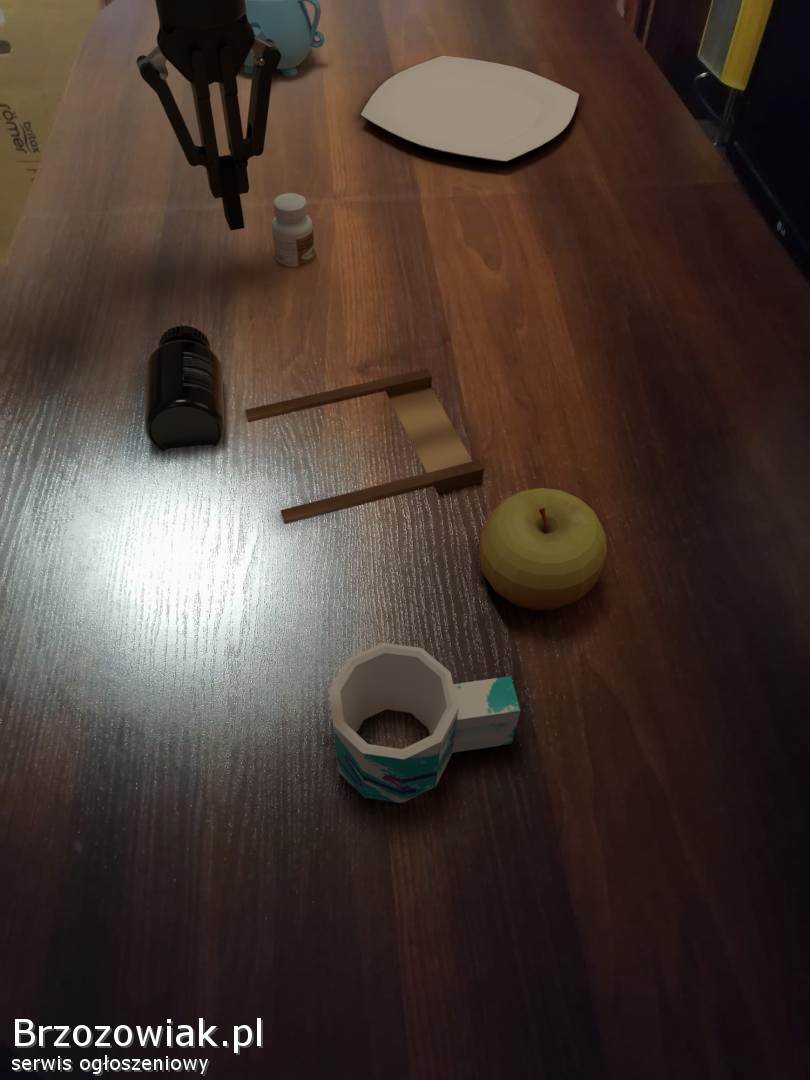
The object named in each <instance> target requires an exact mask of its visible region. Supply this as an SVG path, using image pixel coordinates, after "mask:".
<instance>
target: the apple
mask: <svg viewBox="0 0 810 1080" xmlns="http://www.w3.org/2000/svg"><path fill="white" fill-rule="evenodd" d="M607 550H608V549H607V533H606V532H605V530H604V527H603V525H602V523H601V522H600V520H599V518H598V516H597V514H596V512H595V511H594V510H593V509H592V508H591V506H588V505H587V504H586V503H585V502H584V501H583V500H582V499H581V498H579V497H578V496H575V495H573V494H571V493H568V492H567V491H566V492H565V491H563V490H561V489H555V488H554V489H553V488H547V487H540V488H539V487H538V488H532V489H526V490H522V491H519V492H517V493H515V494H513V495H511V496H509V497H507V498H504V499H503V501H502V502H500V503H499V504H498V505H497V506H496V507H495V509H493V510H492V512H491V513H490V514H489V515H488V516H487V517H486V518H485V521H484V524H483V526H482V530H481V533H480V536H479V541H478V557H479V564H480V571H481V573H482V574H483V575H484V577H485V579H486V580H487V581H488V583H489V585H490V586H491V587H492V589H493V590H494V591H495V592H496V594H498V595H499V596H500V597H502V598H504V600H506V601H508V602H509V603H510V604H512V605H515V606H518V607H521V608H524V609H528V610H531V611H555V610H556V609H560V608H563V607H565V606H569V605H571V604H573V603H575V602H577V601H579V600H580V599H581V598H582V597H583V596H585V595H586V594H587V593H589V592H590V591H592V589H593V588H594V587H595V585H596V583H597V581H598V579H599V577H600V575H601V572H602V570H603V568H604V566H605V564H606V559H607V554H608V551H607Z"/></svg>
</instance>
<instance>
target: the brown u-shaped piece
mask: <svg viewBox="0 0 810 1080" xmlns="http://www.w3.org/2000/svg"><path fill="white" fill-rule="evenodd" d="M432 381H433V376H432V373H431V372H430V370H429V368H425V369H419V370H416V371H411V372H405V373H403V374H398V375H394V376H389V377H385V378H384V377H383V378H379V379H376V380H370V381H366V382H363V383H357V384H354V385H353V384H352V385H349V386H345V387H340V388H336V389H331V390H327V391H322V392H318V393H313V394H309V395H304V396H299V397H296V398H291V399H288V400H282V401H277V402H274V403H269V404H265V405H264V404H263V405H261V406H256V407H250V408H247V409H244V413H245V416H246V419H247V421H248V422H249V423H250V422H253V421H258V420H263V419H266V418H270V417H275V416H280V415H283V414H288V413H294V412H298V411H302V410H307V409H310V408H314V407H319V406H323V405H327V404H328V405H329V404H332V403H337V402H340V401H341V402H342V401H345V400H349V399H354V398H359V397H363V396H367V395H371V394H376V393H380V392H385V394H386V395H387V398H388V399H389V401H390V404H391V405H392V407H393V409H394V411H395V413H396V415H397V417H398V419H399V421H400V423H401V425H402V427H403V428H404V431H405V433H406V434H407V437H408V439H409V440H410V443H411V444H412V446H413V449H414V451H415V452H416V455H417V456H418V459H419V461H420V462H421V464H422V465H423V468H424V470H425V472H426V473H421V474H417V475H413V476H409V477H406V478H401V479H398V480H393V481H390V482H386V483H381V484H378V485H374V486H369V487H365V488H363V489H357V490H354V491H350V492H347V493H342V494H339V495H335V496H331V497H326V498H323V499H319V500H315V501H310V502H306V503H303V504H299V505H296V506H292V507H288V508H283V509H280V516H281V518H282V521H283V524H289V523H292V522H297V521H301V520H304V519H308V518H312V517H316V516H320V515H324V514H327V513H328V514H329V513H331V512H336V511H339V510H343V509H347V508H350V507H355V506H359V505H363V504H367V503H370V502H375V501H379V500H383V499H385V498H386V499H387V498H390V497H393V496H397V495H401V494H406V493H410V492H413V491H416V490H417V491H418V490H421V489H424V488H428V487H432V486H433V488H434V490H435V491H436V494H437V495H440V494H443V493H448V492H451V491H454V490H460V489H463V488H467V487H470V486H474V485H478V484H482V483H484V474H485V473H484V472H485V468H484V465H483V464H482V462H481V461H480V459H475V460H473V459H472V458H471V455H470V454H469V452H468V450H467V449H466V447H465V445H464V443H463V441H462V440H461V437H460V436H459V434H458V433H457V430H456V429H455V427H454V426H453V424H452V422H451V420H450V418H449V416H448V414H447V413H446V410H445V409H444V407H443V406H442V404H441V402H440V400H439V398H438V396H437V394H436V393H435V391H434V389H433V388H432V385H433V384H432V383H433V382H432Z"/></svg>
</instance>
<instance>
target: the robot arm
mask: <svg viewBox="0 0 810 1080" xmlns="http://www.w3.org/2000/svg"><path fill="white" fill-rule="evenodd" d="M154 1H155V6H156V12H157V17H158V22H159V26H158V31H157V35H156V43H157V45H156V46H155V47H154V49H152V51H150V52H149V53H148V55H144V54H142V55H139V56H138V57H137V58H136V66H137V68H138V71H139V73H140V76H141V78H142V79H143V80H144V82H145V83H146V84H147V85H148V86H149V87H150V88H151V89H152V90H153V91H154V92H155V93H156V95H157V97H158V99H159V102H160V103H161V106H162V109H163V110H164V112H165V115H166V116H167V119H168V121H169V123H170V125H171V127H172V130H173V132H174V134H175V137H176V138H177V141H178V143H179V146H180V147H181V150H182V151H183V154H184V157H185V158H186V160H187V163H188V164H189V165H190V167H191V166H192V167H197V166H202V167H205V171H206V176H207V181H208V187H209V190H210V192H211V195H212V196H213V198H214V199H220V198H221V201H222V207H223V208H222V209H223V213H224V219H225V221H226V223H227V226H228V228H229V230H230V231H236V230H237V231H238V230H241V229H242V230H243V229H245V222H244V220H245V219H244V214H243V213H244V212H243V207H242V201H241V195H242V194H243V195H244V194H248V193H249V190H250V182H249V175H248V174H249V173H248V168H247V167H248V165H249V159H251V158H252V157H254V156H255V157H259V156H262V154H263V153H264V149H265V143H266V142H265V140H266V132H267V124H268V116H269V107H270V100H271V91H272V83H273V78H274V77H273V76H274V75H275V73H276V70H277V69H276V68H277V66H278V64H279V62H280V60H281V53H280V51H279V50H278V48H277V47H276V45H275V43H274V42H273V41H272V40H271V39H266V40H264V39H262V38H260V37H258V36H257V35H255V33H254V30H253V28H252V27H251V25H250V23H249V21H248V19H247V13H246V5H245V0H154ZM251 49H252V54H251V57H252V59H253V61H254V66H253V73H251V76H252V77H251V84H250V92H249V93H250V94H249V101H248V102H249V103H248V113H247V121H246V132H245V138H244V131H243V123H242V117H241V110H240V103H239V95H238V94H239V88H238V82H237V76H238V75H239V74H240V72H241V70H242V68H243V66H244V65H243V64H244V62H245V60H246V58H247V56H248V54H249V52H250V50H251ZM167 61H168V62H169V63H170V64H171V65H172V66H173V67H174V68H175V70H177V71H178V73H179V74H181V76H182V77H184V79H185V80H186V81H188V83H189V84H190V87H191V93H192V98H193V105H194V109H195V115H196V121H197V127H198V133H199V138H200V139H199V141H200V145H196V144H195V142H194V140H193V138H192V135H191V133H190V131H189V129H188V127H187V124H186V122H185V119H184V117H183V116H182V115H183V114H182V112H181V111H180V109H179V106H178V104H177V101H176V99H175V97H174V95H173V93H172V90H171V88H170V86H169V84H168V81H167V78H168V76H169V71H168V68H167V66H166V62H167ZM213 83H218V87H219V93H220V99H221V105H222V106H221V107H222V114H223V119H224V126H225V133H226V140H227V145H228V151H229V154H224V155H219V148H218V141H217V135H216V128H215V123H214V116H213V109H212V103H211V92H210V85H212V84H213Z"/></svg>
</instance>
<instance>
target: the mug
mask: <svg viewBox="0 0 810 1080" xmlns="http://www.w3.org/2000/svg"><path fill="white" fill-rule="evenodd" d="M515 689H516V688H515V685H514V681H513V678H512V676H511V675H510V676H501V677H496V678H488V679H480V680H473V681H466V682H459V683H454V680H453V676H452V673H451V671H450V670H449V669H447V667H446V666H444V665H443V664H442V663H440V661H438V660H437V659H436V658H434V657H433V656H432V655H431V654H430V653H429V652H427V651H426V650H425V649H424V648H423V647H418V646H411V645H404V644H397V643H389V642H382V643H379V644H377V645H375V646H372V647H370V648H368V649H366V650H363V651H361V652H358V653H356V654H354V655H352V656H349V657H348V658H347V659H346V661H345V663H344V664H343V665H342V668H341V669H340V671H338V674H337V675H336V676H335V679H334V680H333V681H332V684H331V685H330V686H329V688H328V694H329V702H330V712H331V723H332V731H333V740H334V741H333V742H334V749H335V756H336V757H335V758H336V764H337V765H336V766H337V772H338V773H339V774H340V775H341V776H342V777H343V778H344V779H345V780H346V781H347V782H348V783H349V784H350V785H351V786H352V787H353V788H354V789H355V790H356V791H357V792H358V793H359V794H361V796H362V797H363V798H366V799H372V800H378V801H386V802H391V803H398V804H403V803H405V802H408V801H409V800H412V799H414V798H417V797H418V796H420V795H421V794H424V793H426V792H428V791H429V790H432V789H434V788H436V787H437V785H438V783H439V782H440V779H441V777H442V775H443V773H444V772H445V770H446V767H447V765H448V763H449V761H450V760H451V757H452V755H453V753H460V752H467V751H473V750H479V749H487V748H493V747H500V746H507V745H512V744H513V741H514V740H513V739H514V737H515V733H516V729H517V725H518V721H519V718H520V714H521V708H520V704H519V700H518V697H517V693H516V690H515ZM386 710H390V711H396V712H401V713H402V712H403V713H408V714H409V713H410V714H411V715H412V716H413V717H414V718H416V719H417V720H418V721H419V722H420V723H421V724H423V726H424V727H426V728H427V729H428V733H429V736H427V737H424V738H423V739H421V740H419V741H417V742H413V743H412V744H411V745H408V746H406V747H403V748H396V747H391V746H383V745H377V744H369V743H368V742H367V741H365V740H364V739H363V738H362V737H361V736H360V735H359V734H358V731H359V730H360V728H361V726H362V724H363V723H364V722H365V721H364V720H366V719H369V718H370V717H373V716H376V715H377V714H379V713H382V712H383V711H386Z"/></svg>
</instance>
